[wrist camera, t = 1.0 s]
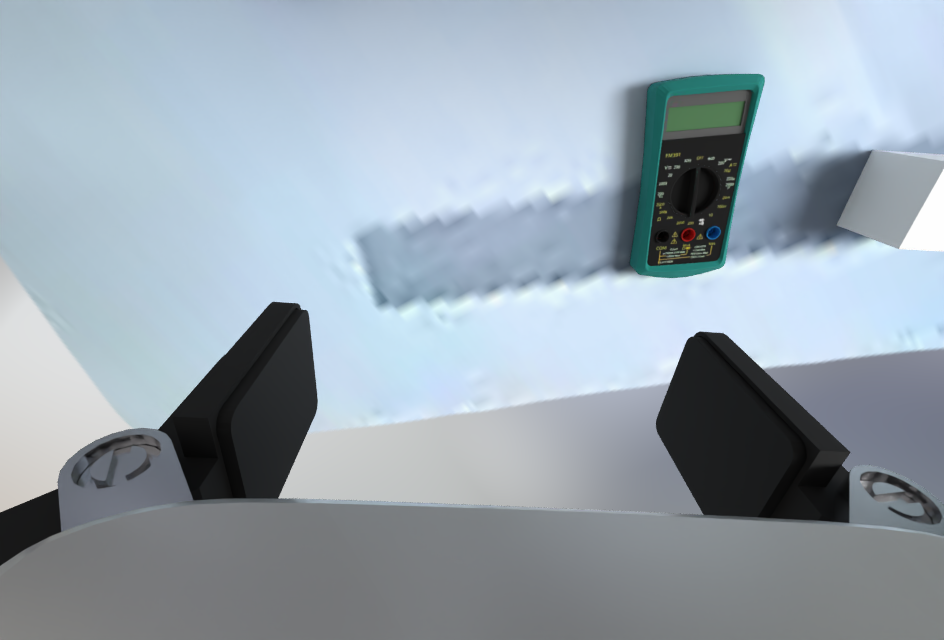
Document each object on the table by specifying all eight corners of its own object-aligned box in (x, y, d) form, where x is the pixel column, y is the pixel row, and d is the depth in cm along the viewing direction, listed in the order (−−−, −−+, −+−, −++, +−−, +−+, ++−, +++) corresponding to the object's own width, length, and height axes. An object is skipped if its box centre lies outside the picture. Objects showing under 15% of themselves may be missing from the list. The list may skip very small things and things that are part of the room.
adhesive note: (944, 154, 34) (1034, 167, 28) (902, 229, 36) (977, 253, 31) (871, 149, 33) (948, 161, 28) (835, 225, 36) (898, 249, 31)
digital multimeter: (626, 270, 38) (637, 284, 36) (645, 80, 31) (661, 80, 29) (709, 264, 38) (727, 277, 36) (747, 70, 31) (773, 69, 28)
